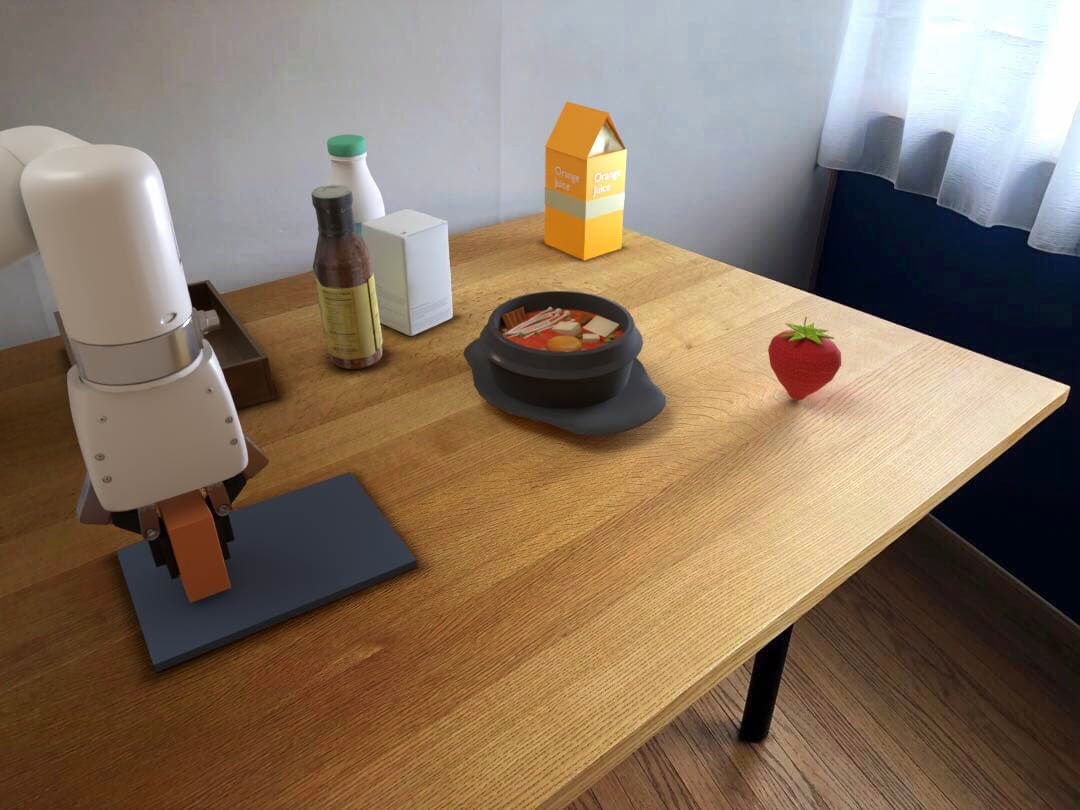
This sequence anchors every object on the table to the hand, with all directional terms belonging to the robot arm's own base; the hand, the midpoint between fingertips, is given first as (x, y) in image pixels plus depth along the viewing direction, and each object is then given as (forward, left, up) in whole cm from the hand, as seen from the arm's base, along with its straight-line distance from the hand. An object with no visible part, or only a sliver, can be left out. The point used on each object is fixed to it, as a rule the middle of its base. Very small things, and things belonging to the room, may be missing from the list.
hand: (196, 556), depth 65 cm
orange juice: (+66, +43, -3) cm, 79 cm away
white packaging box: (+34, +34, -3) cm, 48 cm away
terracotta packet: (0, 0, -2) cm, 2 cm away
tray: (+5, +36, -3) cm, 37 cm away
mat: (+5, 0, -3) cm, 6 cm away
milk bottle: (+32, +45, -3) cm, 55 cm away
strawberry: (+60, -5, -3) cm, 60 cm away
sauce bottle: (+24, +28, -3) cm, 37 cm away
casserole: (+40, +10, -3) cm, 41 cm away
